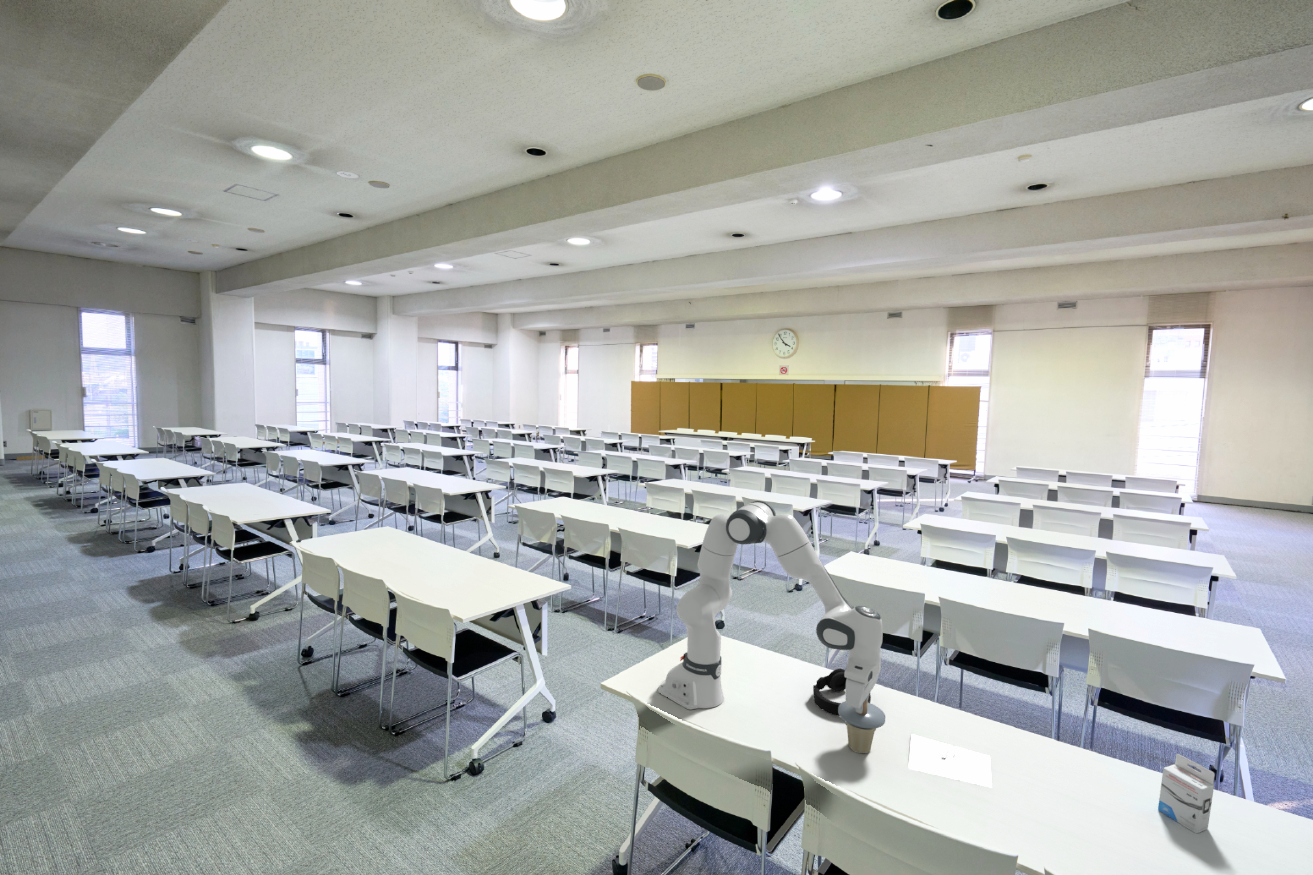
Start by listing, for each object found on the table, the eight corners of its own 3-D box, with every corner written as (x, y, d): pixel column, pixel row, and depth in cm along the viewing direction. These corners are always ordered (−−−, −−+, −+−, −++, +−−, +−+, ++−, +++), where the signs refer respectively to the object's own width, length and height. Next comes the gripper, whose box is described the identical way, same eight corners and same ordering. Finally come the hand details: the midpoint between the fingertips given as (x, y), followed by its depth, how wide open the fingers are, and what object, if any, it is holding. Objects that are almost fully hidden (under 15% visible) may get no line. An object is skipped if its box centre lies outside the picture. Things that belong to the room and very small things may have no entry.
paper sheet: (1000, 761, 170) (1000, 758, 170) (992, 829, 146) (993, 825, 146) (912, 733, 183) (912, 729, 183) (891, 790, 159) (892, 787, 159)
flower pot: (878, 759, 170) (880, 731, 169) (844, 754, 172) (846, 726, 171) (873, 740, 179) (875, 712, 178) (841, 735, 181) (842, 708, 180)
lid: (832, 717, 172) (832, 703, 172) (846, 698, 183) (846, 684, 183) (878, 734, 165) (879, 718, 165) (890, 712, 176) (891, 698, 175)
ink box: (1156, 809, 152) (1163, 755, 150) (1168, 805, 154) (1175, 751, 152) (1196, 834, 144) (1203, 777, 142) (1209, 829, 146) (1216, 772, 144)
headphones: (880, 676, 200) (855, 707, 186) (880, 697, 202) (855, 729, 187) (830, 659, 212) (803, 687, 197) (831, 679, 213) (804, 708, 199)
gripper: (863, 647, 183) (860, 689, 184) (842, 673, 166) (839, 720, 167) (885, 652, 179) (882, 696, 181) (865, 681, 162) (862, 728, 164)
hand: (861, 708), depth 174 cm, fingers closed on lid, 3 cm apart
